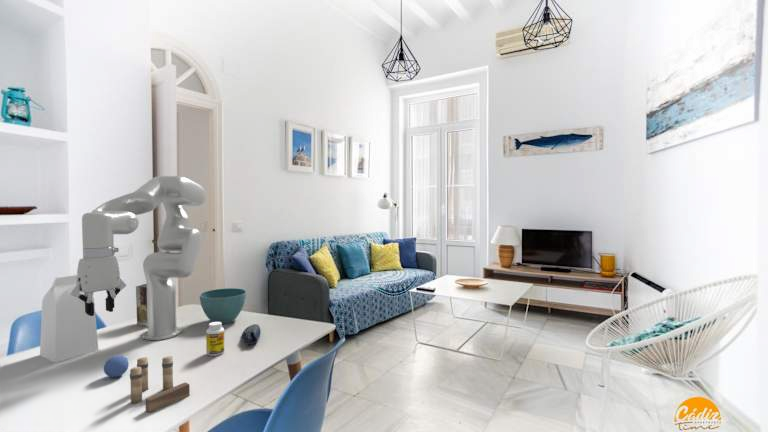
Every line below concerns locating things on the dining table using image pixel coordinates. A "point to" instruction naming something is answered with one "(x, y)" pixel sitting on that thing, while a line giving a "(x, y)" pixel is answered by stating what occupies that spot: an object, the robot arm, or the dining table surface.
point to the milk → (66, 323)
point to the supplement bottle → (215, 339)
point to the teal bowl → (223, 304)
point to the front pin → (143, 372)
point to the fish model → (251, 334)
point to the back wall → (167, 397)
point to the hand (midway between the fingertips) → (100, 312)
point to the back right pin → (136, 385)
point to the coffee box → (141, 304)
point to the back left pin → (167, 372)
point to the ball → (116, 366)
